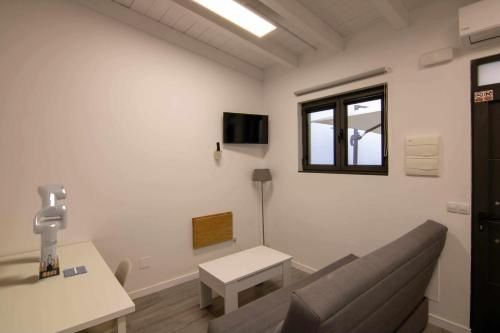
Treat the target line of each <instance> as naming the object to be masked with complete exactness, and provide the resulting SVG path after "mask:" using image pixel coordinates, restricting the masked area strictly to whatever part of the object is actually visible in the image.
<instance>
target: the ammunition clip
mask: <svg viewBox="0 0 500 333" xmlns="http://www.w3.org/2000/svg"><path fill="white" fill-rule="evenodd" d="M48 261H49V260H48ZM52 265H53V271H51V272H47V266H46V262H42V261H40V262H39V270H38V272H39V273H38V280H39V281H40V280H44V279H48V278H52V277H56V276H60V272H61V271H60V258H59V257H57V259H55V258H54V260H53V262H52Z"/></svg>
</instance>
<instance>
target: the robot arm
mask: <svg viewBox="0 0 500 333" xmlns="http://www.w3.org/2000/svg"><path fill="white" fill-rule="evenodd" d="M36 190H37V194H38V195H39V197H40V199H41V209H40V210H39V211H38V212H37V213H36V214H35V216H34V218H33V220H32V221H33V222H32V231H33V232H32V233H33V234H35V235H40V257H39V258H38V259H37V261H38V262H39V263H40V261H42V263H43V262H46V266H47V272H51V271H53V265H52V262H54V258H55V259H56V260H57V257H58V258H59V255H58V254H57V245H58V231H62V230H65V229H67V227H68V207H67V205H66V204H62V203H61V204H58V200H59V201H60V200H61V201H62V200H66V199H67V196H68V190H67V186H66V185H65V184H64V183H63V184H62V183H61V184H41V185H38V186H37V189H36ZM41 218H45V219H43V220H41V221H40V222H39V220H40V219H41ZM46 218H47V219H46ZM48 260H49V261H48Z"/></svg>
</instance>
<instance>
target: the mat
mask: <svg viewBox="0 0 500 333" xmlns="http://www.w3.org/2000/svg"><path fill="white" fill-rule="evenodd" d="M63 271H64V272H63V273H64V277H65V278H69V277H73V276H77V275H78V276H79V275H82V274H87V273H88V271H87V269H86V265H80V266H76V267H71V268H67V269H66V268H65V269H64V270H63Z"/></svg>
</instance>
